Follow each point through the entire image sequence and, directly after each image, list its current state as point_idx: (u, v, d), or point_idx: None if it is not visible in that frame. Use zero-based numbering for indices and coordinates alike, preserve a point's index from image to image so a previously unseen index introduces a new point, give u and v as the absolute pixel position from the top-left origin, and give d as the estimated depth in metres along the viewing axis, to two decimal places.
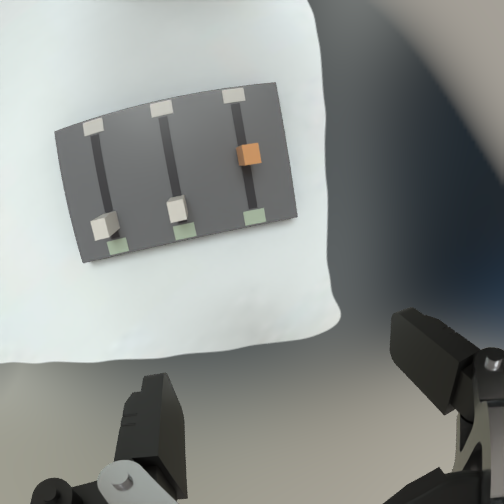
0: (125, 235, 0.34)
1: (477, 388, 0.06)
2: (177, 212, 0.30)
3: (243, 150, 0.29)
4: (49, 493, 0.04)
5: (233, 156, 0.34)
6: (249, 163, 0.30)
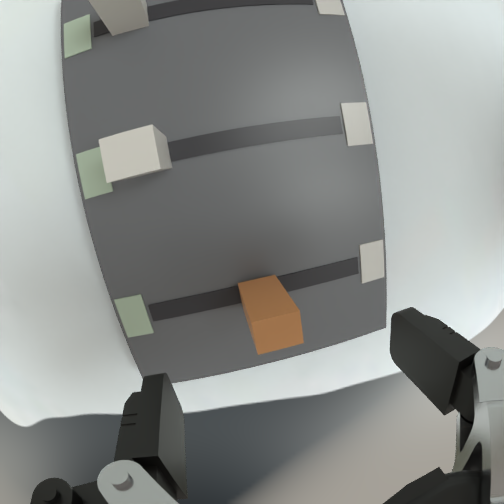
0: (95, 47, 0.12)
1: (477, 388, 0.06)
2: (123, 155, 0.10)
3: (287, 315, 0.13)
4: (49, 493, 0.04)
5: (255, 269, 0.17)
6: (256, 331, 0.12)
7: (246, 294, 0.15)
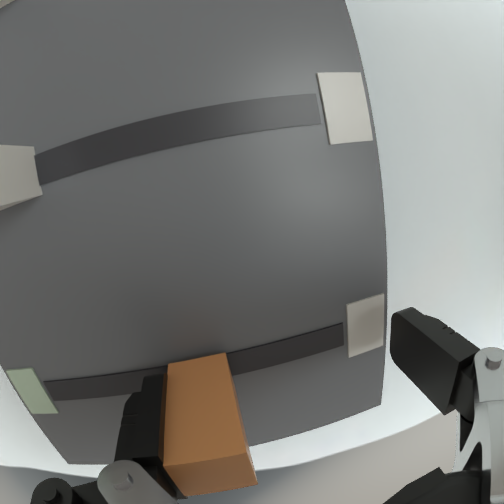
0: None
1: (477, 388, 0.06)
2: None
3: (224, 457, 0.06)
4: (49, 494, 0.04)
5: (178, 346, 0.10)
6: (174, 474, 0.06)
7: (173, 393, 0.09)
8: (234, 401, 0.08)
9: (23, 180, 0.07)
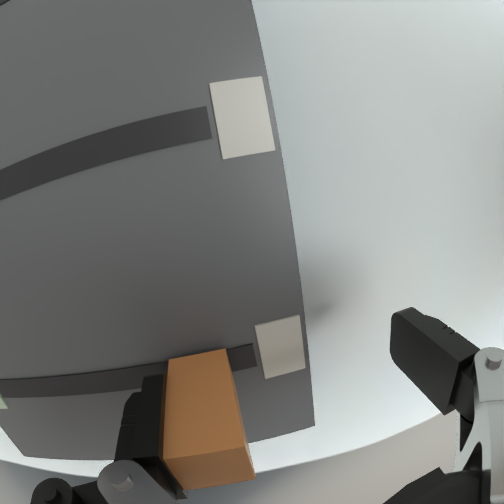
0: None
1: (477, 388, 0.06)
2: None
3: (222, 451, 0.06)
4: (49, 494, 0.04)
5: (93, 357, 0.10)
6: (172, 467, 0.06)
7: (173, 388, 0.09)
8: (233, 396, 0.08)
9: None
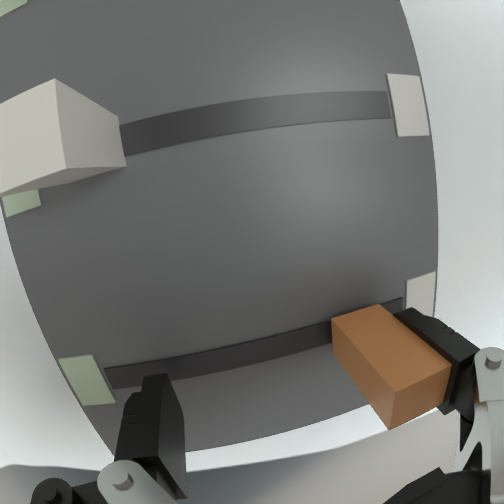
0: (31, 1, 0.06)
1: (477, 388, 0.06)
2: (4, 145, 0.04)
3: (437, 373, 0.07)
4: (49, 494, 0.04)
5: (259, 322, 0.11)
6: (397, 401, 0.07)
7: (356, 338, 0.09)
8: (415, 334, 0.09)
9: (115, 147, 0.08)
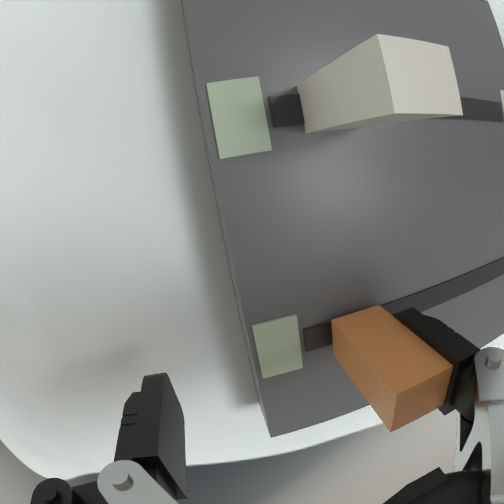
0: None
1: (477, 388, 0.06)
2: (419, 75, 0.05)
3: (438, 374, 0.07)
4: (49, 493, 0.04)
5: (433, 272, 0.12)
6: (399, 403, 0.07)
7: (357, 340, 0.09)
8: (416, 335, 0.09)
9: None
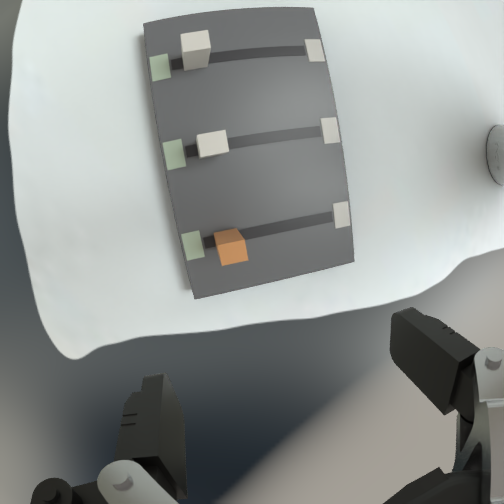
0: (173, 77, 0.23)
1: (477, 388, 0.06)
2: (210, 143, 0.21)
3: (237, 242, 0.23)
4: (49, 493, 0.04)
5: (269, 216, 0.28)
6: (220, 250, 0.23)
7: (217, 236, 0.26)
8: (240, 234, 0.25)
9: None
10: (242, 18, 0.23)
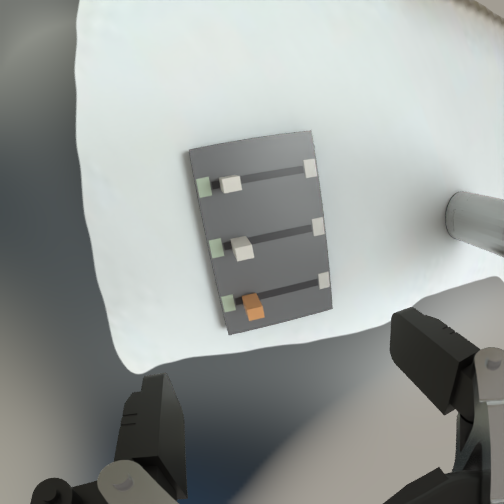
0: (213, 195, 0.39)
1: (477, 388, 0.06)
2: (243, 253, 0.37)
3: (258, 307, 0.39)
4: (49, 493, 0.04)
5: (277, 284, 0.44)
6: (248, 312, 0.39)
7: (245, 300, 0.42)
8: (259, 300, 0.41)
9: None
10: (259, 146, 0.39)
